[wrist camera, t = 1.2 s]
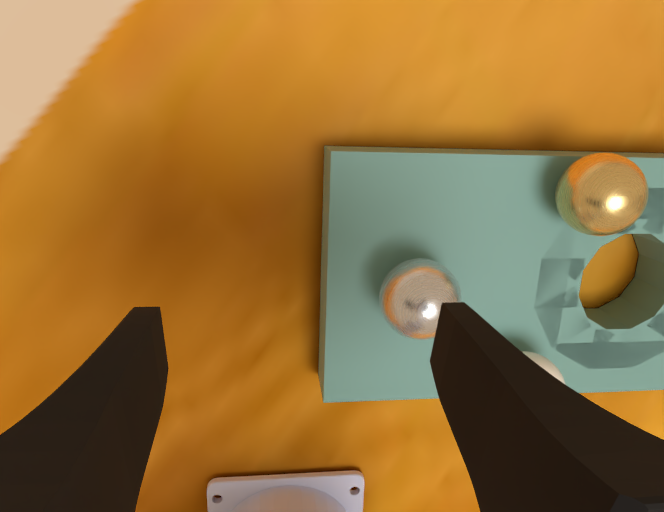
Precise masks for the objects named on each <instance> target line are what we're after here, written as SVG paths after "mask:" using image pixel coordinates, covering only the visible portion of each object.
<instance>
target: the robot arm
mask: <svg viewBox="0 0 664 512" xmlns="http://www.w3.org/2000/svg"><path fill="white" fill-rule="evenodd" d="M430 365H431V369H432V373H433V378H434V382H435V385H436V389H437V393H438V396H439V399H440V402H441V404H442V407H443V409H444V412H445V414H446V417H447V420H448V422H449V425H450V427H451V430H452V432H453V435H454V437H455V440H456V442H457V445H458V447H459V450H460V452H461V455H462V457H463V460H464V462H465V465H466V467H467V470H468V472H469V475H470V478H471V481H472V484H473V487H474V490H475V494H476V497H477V501H478V504H479V508H480V511H481V512H664V440H663V439H660V438H658V437H656V436H654V435H652V434H650V433H648V432H646V431H644V430H642V429H640V428H638V427H636V426H634V425H632V424H630V423H628V422H626V421H625V420H623V419H621V418H619V417H618V416H616V415H614V414H612V413H610V412H609V411H607V410H605V409H603V408H601V407H600V406H598V405H596V404H595V403H593V402H591V401H590V400H588V399H587V398H585V397H584V396H582V395H581V394H579V393H577V392H576V391H574V390H573V389H571V388H570V387H568V386H567V385H565V384H564V383H562V382H561V381H560V380H558V379H557V378H555V377H554V376H552V375H551V374H550V373H549V372H547V371H546V370H545V369H543V368H542V367H541V366H539V365H538V364H537V363H535V362H534V361H533V360H531V359H530V358H529V357H528V356H526V355H525V354H524V353H523V352H522V351H520V350H519V349H518V348H517V347H515V346H514V345H513V344H512V343H511V342H510V341H508V340H507V339H506V338H505V337H504V336H503V335H501V334H500V333H499V332H498V331H497V330H496V329H495V328H493V327H492V326H491V325H490V324H489V323H488V322H487V321H486V320H484V319H483V318H482V317H481V316H480V315H479V314H478V313H476V312H475V311H474V310H473V309H472V308H471V307H469V306H468V305H467V304H466V303H465V302H446V303H442V305H441V309H440V314H439V319H438V324H437V328H436V333H435V338H434V343H433V347H432V352H431V357H430ZM167 375H168V362H167V354H166V347H165V340H164V333H163V325H162V318H161V311H160V307H134V308H133V309H132V310H131V311H130V312H129V313H128V314H127V315H126V317H125V318H124V319H123V320H122V321H121V322H120V324H119V325H118V326H117V327H116V328H115V329H114V331H113V332H112V333H111V334H110V335H109V336H108V337H107V338H106V340H105V341H104V342H103V343H102V344H101V345H100V346H99V347H98V348H97V349H96V350H95V352H94V353H93V354H92V355H91V356H90V357H89V358H88V359H87V360H86V361H85V362H84V363H83V364H82V365H81V366H80V367H79V368H78V369H77V370H76V371H75V372H74V373H73V374H72V375H71V376H70V377H69V378H68V379H67V380H66V381H65V382H64V383H63V384H62V385H61V386H60V387H59V388H58V389H57V390H56V391H54V392H53V393H52V394H51V395H50V396H49V397H48V398H47V399H45V400H44V401H43V402H42V403H41V404H40V405H39V406H37V407H36V408H35V409H34V410H33V411H31V412H30V413H29V414H28V415H26V416H25V417H24V418H23V419H21V420H20V421H19V422H18V423H16V424H15V425H14V426H12V427H11V428H9V429H8V430H7V431H5V432H4V433H2V434H1V435H0V512H135V508H136V504H137V499H138V495H139V491H140V487H141V483H142V480H143V476H144V472H145V469H146V465H147V462H148V458H149V455H150V451H151V448H152V444H153V440H154V437H155V433H156V430H157V426H158V422H159V419H160V415H161V411H162V408H163V403H164V396H165V390H166V383H167ZM352 487H358V488H357V489H355V490H351V488H352ZM214 495H220V496H221V497H219V498H216V497H214ZM363 500H364V477H363V474H362V473H361V472H360V471H356V470H350V471H332V472H313V473H295V474H277V475H258V476H240V477H221V478H214V479H212V480H210V481H209V483H208V486H207V508H208V512H363Z"/></svg>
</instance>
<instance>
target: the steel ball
mask: <svg viewBox="0 0 664 512" xmlns="http://www.w3.org/2000/svg"><path fill="white" fill-rule="evenodd" d="M446 302H462V297H461V290H460V287H459V284H458V282H457V280H456V278H455V277H454V275H453V274H452V273H451V272H450V271H449V270H448V269H447V268H446V267H445V266H443V265H442V264H440V263H438V262H436V261H433V260H430V259H425V258H415V259H410V260H406V261H404V262H401V263H399V264H398V265H396V266H395V267H394V268H392V269H391V270H390V271H389V273H388V274H387V275H386V277H385V278H384V280H383V282H382V285H381V288H380V292H379V305H380V309H381V312H382V315H383V317H384V319H385V321H386V322H387V323H388V325H389V326H390V327H391V328H392V329H393V330H394V331H396V332H397V333H399V334H400V335H402V336H404V337H407V338H410V339H415V340H427V339H432V338H435V333H436V328H437V324H438V319H439V314H440V309H441V305H442V303H446Z"/></svg>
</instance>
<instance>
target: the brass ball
mask: <svg viewBox="0 0 664 512" xmlns="http://www.w3.org/2000/svg"><path fill="white" fill-rule="evenodd" d="M648 193H649V190H648V184H647V180H646V178H645V175H644V174H643V172H642V170H641V169H640V168H639V167H638V166H637V165H636V164H635V163H634V162H633V161H631V160H629V159H628V158H626V157H624V156H621V155H618V154H614V153H595V154H591V155H587V156H585V157H582V158H580V159H579V160H577V161H575V162H574V163H572V164H571V165H570V166H569V167H568V168H567V169H566V170H565V171H564V172H563V174H562V176H561V177H560V179H559V181H558V184H557V187H556V192H555V201H556V206H557V209H558V212H559V214H560V216H561V217H562V218H563V220H564V221H565V222H566V223H567V224H568V225H569V226H570V227H572V228H573V229H575V230H576V231H578V232H581V233H583V234H587V235H591V236H607V235H612V234H616V233H619V232H621V231H623V230H625V229H627V228H628V227H630V226H631V225H632V224H634V223H635V222H636V221H637V220H638V218H639V217H640V216H641V214H642V213H643V211H644V209H645V207H646V204H647V201H648Z"/></svg>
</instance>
